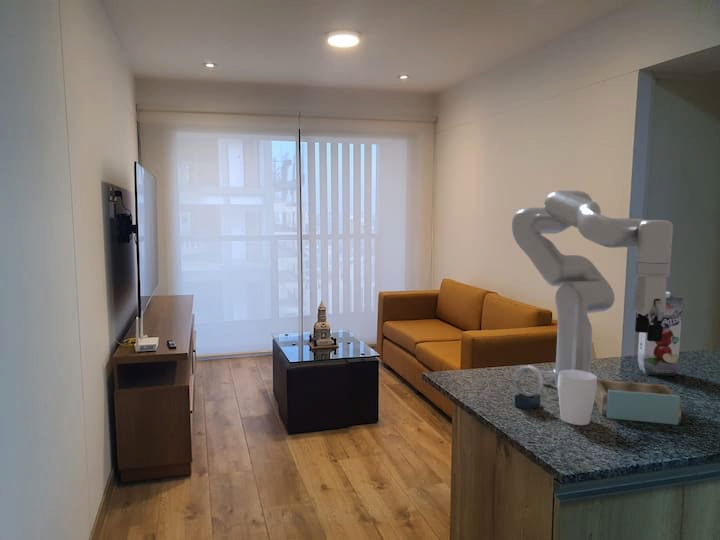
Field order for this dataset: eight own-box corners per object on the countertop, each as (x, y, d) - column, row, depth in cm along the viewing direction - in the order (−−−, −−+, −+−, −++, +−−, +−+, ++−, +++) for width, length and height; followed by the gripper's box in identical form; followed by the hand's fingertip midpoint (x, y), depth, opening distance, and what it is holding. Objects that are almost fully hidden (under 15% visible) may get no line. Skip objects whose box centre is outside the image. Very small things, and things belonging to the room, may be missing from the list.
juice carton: (634, 367, 178) (639, 288, 175) (667, 369, 177) (673, 289, 174) (644, 376, 170) (650, 292, 167) (680, 377, 168) (686, 293, 165)
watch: (519, 399, 148) (521, 361, 147) (546, 407, 142) (548, 367, 141) (508, 404, 144) (509, 364, 143) (534, 412, 138) (536, 371, 137)
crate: (601, 417, 135) (602, 394, 135) (592, 400, 147) (593, 379, 147) (680, 424, 131) (682, 401, 130) (664, 406, 143) (666, 385, 142)
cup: (591, 431, 126) (594, 383, 125) (552, 423, 131) (554, 376, 130) (597, 419, 134) (600, 373, 133) (559, 412, 139) (562, 367, 137)
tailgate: (607, 418, 134) (608, 391, 133) (606, 416, 135) (607, 389, 134) (678, 424, 130) (680, 396, 129) (676, 422, 131) (678, 395, 130)
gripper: (626, 265, 142) (622, 328, 144) (647, 273, 125) (642, 344, 127) (657, 266, 140) (652, 329, 142) (682, 274, 124) (676, 345, 126)
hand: (647, 336), depth 135 cm, fingers open, 9 cm apart
